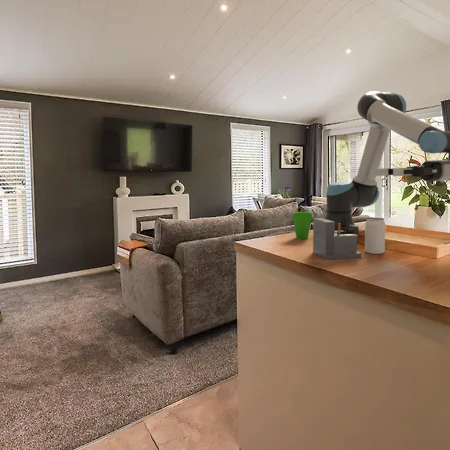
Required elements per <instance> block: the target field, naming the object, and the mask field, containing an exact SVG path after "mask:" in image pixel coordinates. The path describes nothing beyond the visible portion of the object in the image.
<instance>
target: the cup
mask: <svg viewBox="0 0 450 450" xmlns="http://www.w3.org/2000/svg"><path fill="white" fill-rule="evenodd" d="M291 215H292V221H293V225H294V233H295V237H296V239H298V240H307V239H309V236H310V231H311V230H310V229H311V222H312V217H313V212H309V211H297V212H292V213H291Z"/></svg>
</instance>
